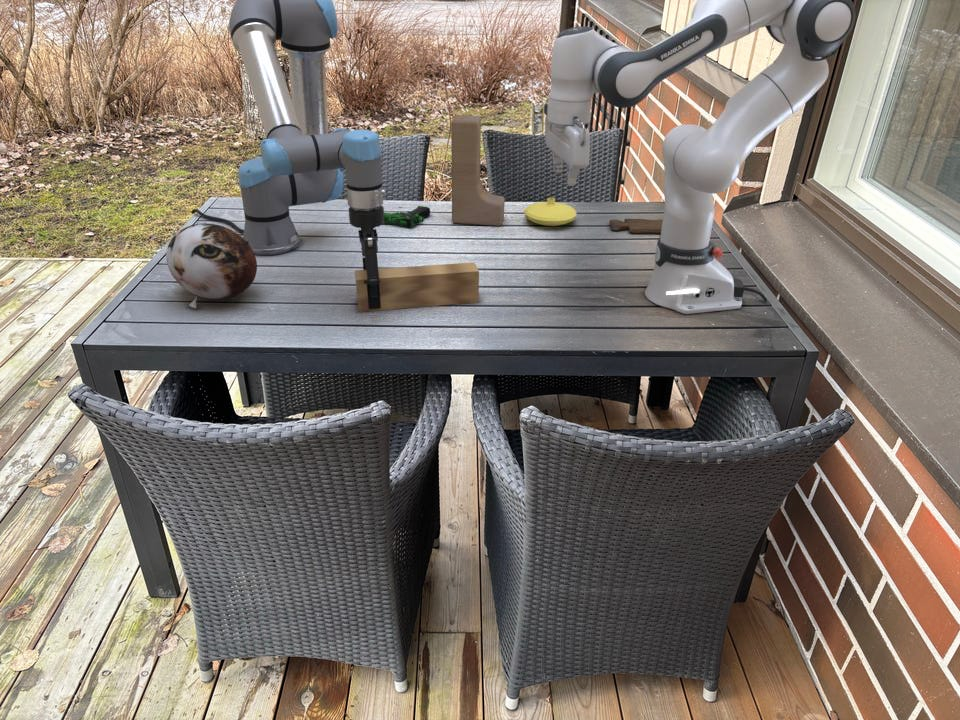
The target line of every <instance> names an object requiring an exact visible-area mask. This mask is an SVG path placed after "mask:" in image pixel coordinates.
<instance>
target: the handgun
mask: <svg viewBox="0 0 960 720" xmlns="http://www.w3.org/2000/svg"><path fill="white" fill-rule="evenodd" d="M430 214H431V209H430V207H428V206H424V205H423V206H422V205H417V206H416V208H414V209H412V210H411V211H407V212H403V211H400V212H399V211H397V212H392V213H391V212H384V223H383V224H390V225H396V226H401V227H403V228H404V227H405V228H411V229H412V228H413V227H415V226H418V224H421V223H423V222H424V220H425V218H427V217H429V216H430Z"/></svg>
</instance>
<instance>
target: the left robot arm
mask: <svg viewBox="0 0 960 720" xmlns="http://www.w3.org/2000/svg"><path fill="white" fill-rule="evenodd" d="M338 25H339V24H338V17H337V13H336V9H335V4H334V2H333V0H236V1H235V3H234V5H233V7H232V9H231V12H230V17H229V25H228V26H229V36H230V39H231V42H232V45H233V48H234V49H235V51H237V52H238V53H239V54H240V55H241V59H242V62H243V66H244V69H245V72H246V76H247V79H248V82H249V86H250V88H251V92H252V94H253V98H254V102H255V105H256V108H257V111H258V115H259V118H260V121H261V124H262V127H263V131H264V134H265V138H266V139H263V140H261V142H260V146H259V147H260V156H258V157H255V158H251V159H248V160H246V161H245V162H243V163H241V165H240V166H239V167H238V170H237V174H238V186H239V189H240V194H241V195H240V196H241V201H242V207H243V212H244V213H243V215H244V219H245V220H244V226H243V228H244V229H242V228H240V227H238V226H237V225H236V224H235V223H234V222H232V221H231V220H228V219H225V218H222V217H217V216H212V215H209V214H205V213H204V212H202V211H201V210H199V209H197V208H194V209H192V210H191V212H190V214H192V215H193V214H196V213H197V212H198V213H197V214H198V215H199V216H201V217H202V218H205V219H207V220H211V221H216V222H222V223H225V224H228V225H230V226H231V227H232V228H233V229H235V230H236V231H237V232H239V233H241V234H243V235H242V237H243V238H244V239H245V240H246V241H249V242H248V244H249V245H250V247H251V248H252V250H253V252H254V254H255V256H256V255H257V256H275V255H281V254H282V255H283V254H285V253H289V252H291V251H293V250H296V249H297V248H298V247H299V246H300V244H301V241H300V235H299V233H298V231H297V229H296V227H295V225H294V223H293V220H292V218H291V216H290V207H294V206H303V205H310V204H318V203H321V204H325V203H327V202H330V201H335V200H338V199H339V198H340V196H341V195H342V192H343V190H344V189H343V188H344V182H345V181H346V198H347V199H346V200H347V206H349V207H348V219H349V224H350V225H351V226H352V227H355V228H357V229H358V238H359V242H360V243H359V244H360V245H361V248H360V250H361V256H362V270H366V273H367V280H364V284H367V295H368V308H369V310H370V309H381V301H380V286H379V283H380V280H379V272H378V269H379V262H378V252H379V248H378V247H379V246H378V241H379V236H378V232H377V231H378V230H377V229H376V228H377V227H381V226H383V224H385V223H384V213H385V207H384V206H383V204H384V195H385V194H386V189H383V174H382V173H383V171H382V155H381V154H382V147H381V142H380V137H379V134H378V133H377V132H376V131H373V130H369V129H352V130H350V129H348V128H345V127H338V128H335V129H334V130H332V131H331V132H329V120H328V119H329V118H328V101H327V81H326V80H327V79H326V66H325V65H326V62H325V61H326V59H325V54H326V53H327V52H328V51H329V50H330V49H331V40H333V39H335V38H337V36H338V31H339V26H338ZM277 41H280V47H281V48H282V50H284V51H285V52H286V53H287V57H288V69H289V79H290V81H289V83H290V91H289V87H288V85H287V81H286V78H285V75H284V72H283V69H282V65H281V61H280V59H279V56H278V53H277V50H276V47H275V45H276V42H277ZM343 170H344V171H345V175H344V172H343ZM344 177H345V178H344ZM344 179H345V181H344ZM373 277H376V278H373Z"/></svg>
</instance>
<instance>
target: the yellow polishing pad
mask: <svg viewBox="0 0 960 720" xmlns="http://www.w3.org/2000/svg"><path fill="white" fill-rule="evenodd" d="M546 200H547V201H539V202H534V203H531V204H529V205H528V206H527V207H525V209H524V210H523V212H524V213H523V214H524V216H525V218H526V219H527V220H529V221H531V222H533V223H535V224H537V225H540V226H547V227H557V226H558V227H559V226H563V225H566V224H569V223H571V222H573V221H574V220H575V219H576V217H577V214H578V213H577V211H576V210H575V208H574V207H573V206H571V205H569V204H566V203H562V202H556V198H555V197H548V198H547V199H546Z"/></svg>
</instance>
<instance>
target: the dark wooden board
mask: <svg viewBox="0 0 960 720" xmlns="http://www.w3.org/2000/svg"><path fill="white" fill-rule="evenodd" d="M608 222H609V226H610V229H611V231H614V232H615V231H616V232H618V231H619V232H620V231H624V230H628V232H629V233H630V234H642V233H643V234H644V233H654V234H655V233H658V234H659V233H660V234H661V228H662V222H663V218H662V219H647V218H624V220H620V219H610V220H609V221H608Z"/></svg>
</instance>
